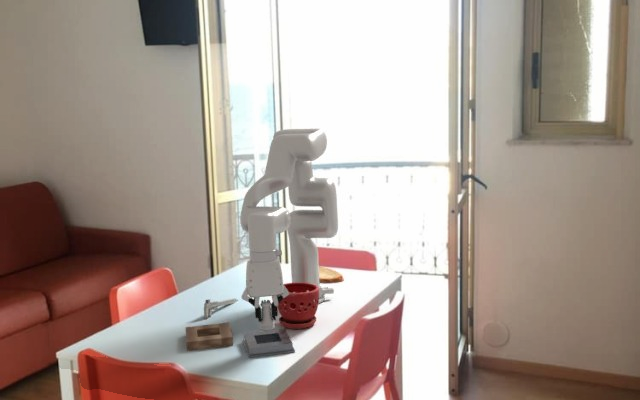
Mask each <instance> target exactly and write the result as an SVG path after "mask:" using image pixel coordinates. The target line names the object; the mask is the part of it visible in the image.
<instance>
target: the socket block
mask: <svg viewBox="0 0 640 400" xmlns="http://www.w3.org/2000/svg"><path fill="white" fill-rule="evenodd" d="M184 329H185V338H186V339H185V340H186V349H187V351H196V350H205V349H212V348H220V347H229V346H234V337H233V333H232V330H231V325H230V322H223V323H221V322H220V323H213V324H204V325H203V324H202V325H194V326H185V328H184Z"/></svg>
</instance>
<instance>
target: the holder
mask: <svg viewBox="0 0 640 400" xmlns="http://www.w3.org/2000/svg"><path fill="white" fill-rule="evenodd" d="M243 334H244V339H243V340H242V342H243V346H244V350H245V352H246V356H247V359H252V358H258V357H267V356H275V355H283V354H290V353H291V354H293V353H296V350H295V348H294V346H293V341H292V340H291V338H290V336H289V334H288V332H287V329H285V328H284V329H274V330H273V329H272V330H268V331H264V330H263V331H257V332H248V333H243Z"/></svg>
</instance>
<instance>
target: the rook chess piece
mask: <svg viewBox="0 0 640 400" xmlns="http://www.w3.org/2000/svg"><path fill="white" fill-rule="evenodd" d="M271 304H272V302H271V300H270V299H264V300H261V301H260V303H259V305H260V308H261V322H259V324H258V325H259V329H260V330H261V331H263V332H264V331H273V329H274V330H275V327H276V325H275V320H273V318H272V312H271Z"/></svg>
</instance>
